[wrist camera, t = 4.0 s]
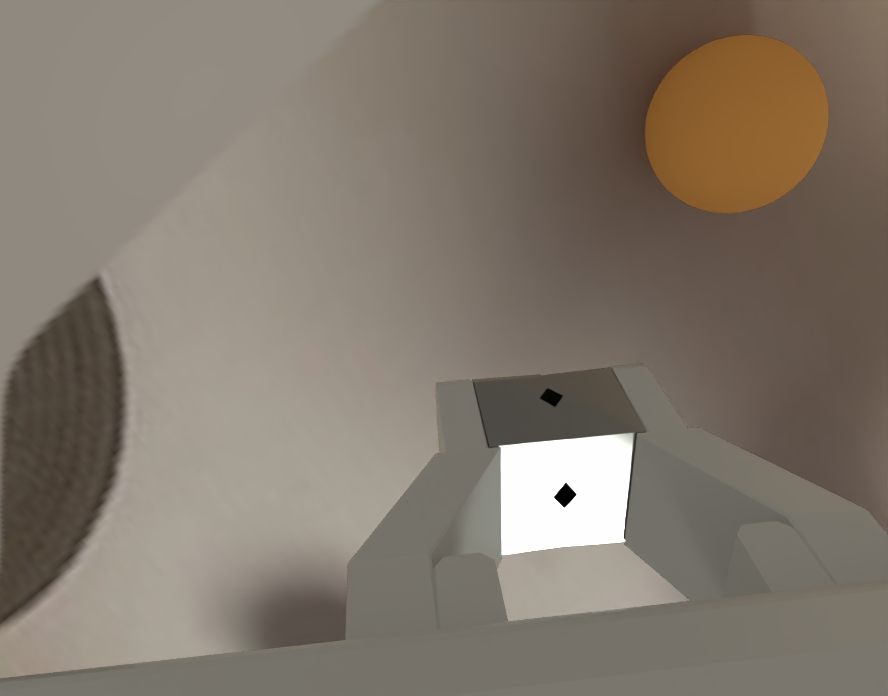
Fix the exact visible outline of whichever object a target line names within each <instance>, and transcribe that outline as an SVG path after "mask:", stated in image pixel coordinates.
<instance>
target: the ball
mask: <svg viewBox="0 0 888 696" xmlns="http://www.w3.org/2000/svg"><path fill="white" fill-rule="evenodd" d="M828 123H829V108H828V100H827V95H826V91H825V87H824V85H823V83H822V80H821V78H820V76H819V75H818V73H817V71H816V70H815V68H814V67H813V65H812V64H811V63H810V62H809V61H808V60H807V59H806V58H805V57H804V56H803V55H802V54H801V53H799V52H798V51H797V50H796V49H794V48H793V47H791V46H789V45H787V44H785V43H783V42H781V41H778V40H775V39H772V38H769V37H764V36H757V35H737V36H730V37H725V38H721V39H717V40H714V41H712V42H709V43H707V44H705V45H703V46H701V47H699V48H697V49H696V50H694V51H692V52H690V53H689V54H688V55H686V56H685V57H684V58H682V59H681V60H680V61H679V62H678V63H677V64H676V65H675V66H673V68H672V69H671V70H670V71H669V72H668V73H667V74H666V76H665V77H664V79H663V80H662V81H661V83H660V84H659V86H658V88H657V90H656V92H655V93H654V95H653V98H652V100H651V103H650V106H649V109H648V113H647V117H646V124H645V143H646V150H647V155H648V158H649V161H650V163H651V166H652V168H653V171H654V172H655V174H656V176H657V178H658V179H659V180H660V182H661V183H662V184H663V185H664V186H665V188H666V189H667V190H668V191H669V192H670V193H672V194H673V195H674V196H675V197H677V198H678V199H680V200H681V201H683V202H684V203H686V204H688V205H690V206H693V207H695V208H698V209H701V210H705V211H709V212H715V213H738V212H745V211H749V210H753V209H756V208H760V207H762V206H765V205H767V204H769V203H771V202H773V201H775V200H777V199H779V198H780V197H782V196H783V195H785V194H786V193H788V192H789V191H790V190H791V189H792V188H794V187H795V186H796V185H797V184H798V183H799V182H800V181H801V180H802V179H803V178H804V177H805V176H806V174H807V173H808V172H809V171H810V169H811V168H812V166H813V165H814V163H815V162H816V160H817V158H818V156H819V154H820V152H821V149H822V147H823V144H824V141H825V137H826V134H827V129H828Z"/></svg>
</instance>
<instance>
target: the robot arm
mask: <svg viewBox="0 0 888 696" xmlns="http://www.w3.org/2000/svg"><path fill="white" fill-rule="evenodd" d="M435 392H436V408H437V424H438V441H439V453H436V454H435V455H434V456H433V457H432V459H431V460H430V461H429V462H428V464H427V465H426V466H425V468H424V469H423V470H422V471H421V473H420V474H419V475H418V476H417V478H416V479H415V480H414V481H413V483H412V484H411V485H410V486H409V488H408V489H407V490H406V491H405V493H404V494H403V495H402V496H401V498H400V499H399V500H398V501H397V503H396V504H395V505H394V506H393V508H392V509H391V510H390V511H389V513H388V514H387V515H386V516H385V518H384V519H383V520H382V521H381V523H380V524H379V525H378V526H377V528H376V529H375V530H374V531H373V533H372V534H371V535H370V536H369V538H368V539H367V540H366V541H365V543H364V544H363V545H362V546H361V548H360V549H359V550H358V551H357V553H356V554H355V555H354V556H353V558H352V559H351V560H350V561H349V563H348V573H347V601H346V630H345V640H341V641H332V642H323V643H314V644H305V645H297V646H288V647H279V648H270V649H261V650H252V651H242V652H233V653H224V654H214V655H205V656H196V657H187V658H178V659H169V660H161V661H152V662H143V663H134V664H125V665H116V666H107V667H98V668H89V669H81V670H72V671H63V672H54V673H45V674H36V675H27V676H18V677H9V678H1V679H0V696H888V534H887V532H886V531H885V530H884V529H883V528H882V527H881V525H880V524H879V523H878V522H877V521H876V520H875V518H874V517H873V516H872V515H871V514H870V513H869V512H868V510H867V509H865V508H863V507H861V506H859V505H857V504H855V503H852V502H850V501H848V500H846V499H844V498H842V497H840V496H838V495H836V494H834V493H832V492H830V491H828V490H826V489H824V488H822V487H820V486H818V485H816V484H814V483H811V482H809V481H807V480H805V479H803V478H801V477H799V476H797V475H795V474H793V473H791V472H789V471H787V470H785V469H783V468H781V467H779V466H777V465H775V464H772V463H770V462H768V461H766V460H764V459H762V458H760V457H758V456H756V455H754V454H752V453H750V452H748V451H746V450H744V449H742V448H740V447H738V446H736V445H734V444H731V443H729V442H727V441H725V440H723V439H721V438H719V437H717V436H715V435H713V434H711V433H709V432H707V431H705V430H703V429H701V428H688V427H687V426H686V424H685V423H684V421H683V420H682V418H681V417H680V415H679V414H678V412H677V411H676V409H675V408H674V406H673V405H672V403H671V402H670V400H669V399H668V397H667V395H666V394H665V392H664V391H663V389H662V388H661V386H660V385H659V383H658V382H657V380H656V379H655V377H654V376H653V374H652V373H651V371H650V370H649V368H648V367H647V366H646V365H644V364H642V363H637V364H629V365H622V366H614V367H607V368H601V369H592V370H584V371H575V372H566V373H557V374H549V375H540V374H539V375H525V376H511V377H498V378H484V379H472V380H470V379H467V380H457V381H447V382H438V383H436V391H435ZM613 542H625V543H624V545H626V546H627V547H628V548H629V549H630V550H632V551H633V552H634V553H635V554H636V555H637V556H639V557H640V558H641V559H642V560H643V561H645V562H646V563H647V564H648V565H649V566H650V567H652V568H653V569H654V570H655V571H656V572H657V573H659V574H660V575H661V576H662V577H663V578H665V579H666V580H667V581H668V582H669V583H670V584H672V585H673V586H674V587H675V588H676V589H677V590H679V591H680V592H681V593H682V594H683V595H685V596H686V597H687V598H688V599H689V600H690V601H687V602H678V603H669V604H660V605H651V606H642V607H633V608H623V609H614V610H605V611H596V612H587V613H578V614H569V615H561V616H552V617H543V618H534V619H525V620H517V621H508V619H507V615H506V610H505V605H504V601H503V596H502V592H501V587H500V583H499V578H498V573H497V568H498V566H499V564H500V562H501V560H502V555H503V554H510V553H518V552H525V551H533V550H540V549H547V548H555V547H562V546H575V545H588V544H600V543H613Z"/></svg>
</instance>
